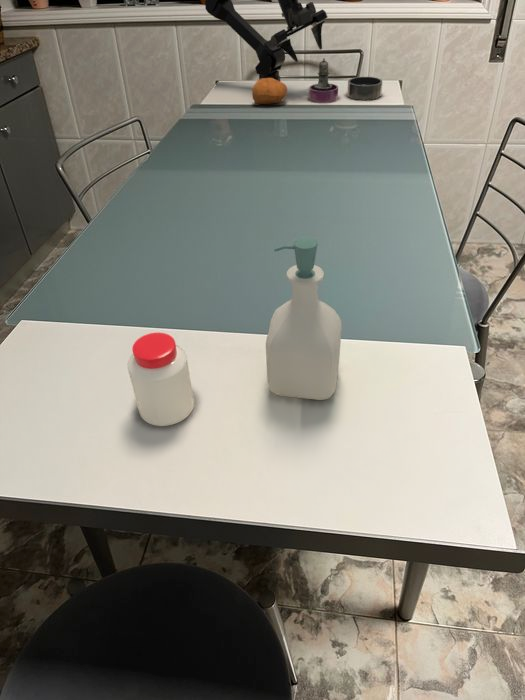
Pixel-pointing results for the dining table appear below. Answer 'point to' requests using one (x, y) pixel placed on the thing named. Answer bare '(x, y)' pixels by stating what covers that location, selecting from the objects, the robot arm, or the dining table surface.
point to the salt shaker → (323, 77)
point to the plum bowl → (323, 94)
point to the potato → (269, 91)
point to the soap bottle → (303, 333)
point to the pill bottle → (160, 380)
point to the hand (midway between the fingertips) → (309, 55)
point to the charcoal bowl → (364, 88)
